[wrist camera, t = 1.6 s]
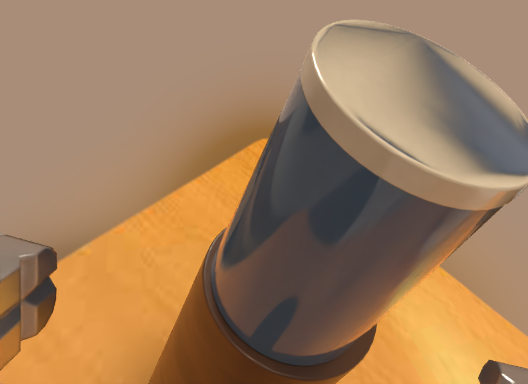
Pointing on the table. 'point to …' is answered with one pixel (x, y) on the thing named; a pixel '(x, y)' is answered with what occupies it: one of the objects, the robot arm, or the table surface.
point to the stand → (234, 347)
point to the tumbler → (363, 189)
